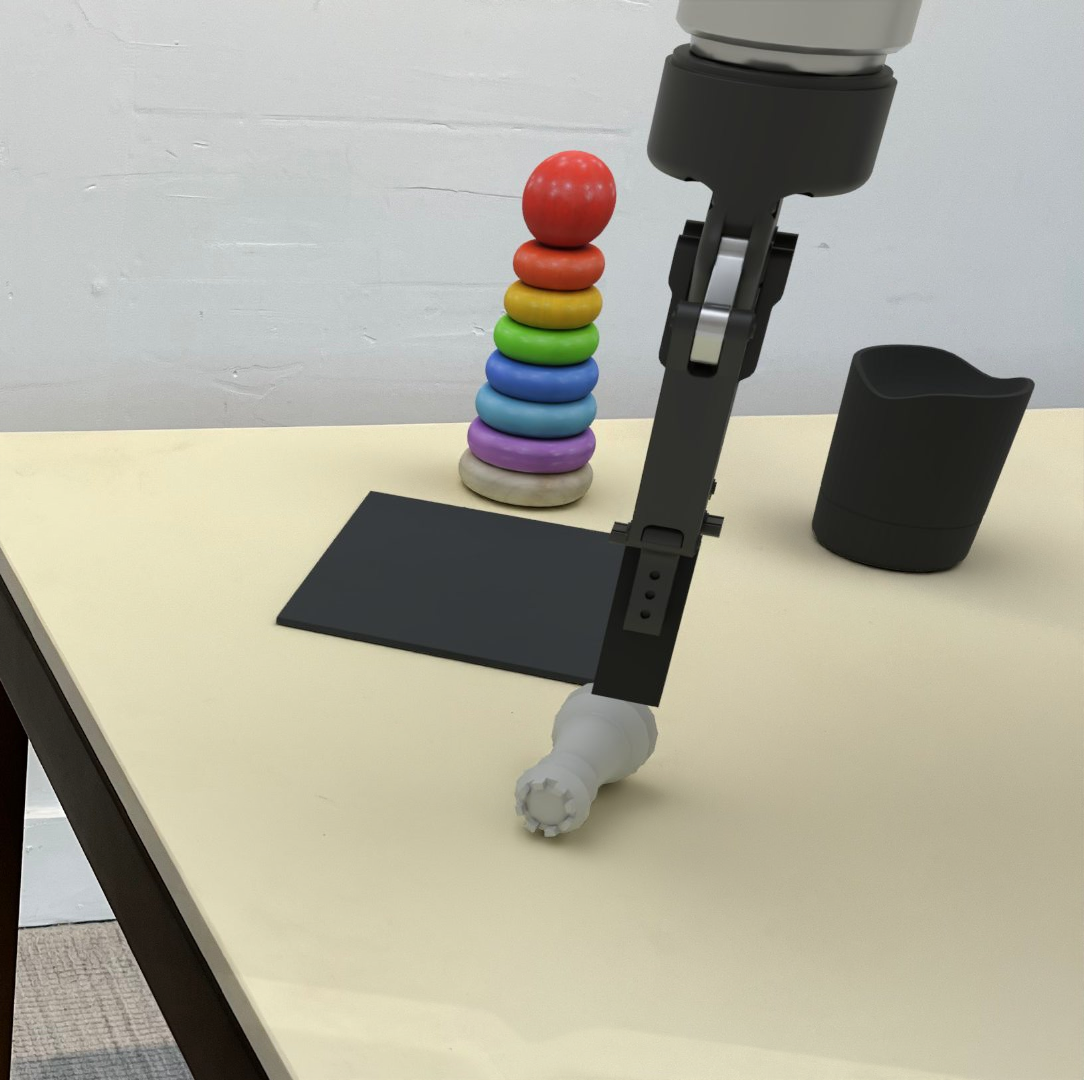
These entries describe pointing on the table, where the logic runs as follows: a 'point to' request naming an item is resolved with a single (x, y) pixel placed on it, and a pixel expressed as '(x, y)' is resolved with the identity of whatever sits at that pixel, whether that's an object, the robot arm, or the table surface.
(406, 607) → the felt mat
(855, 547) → the pen holder
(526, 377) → the stacking toy
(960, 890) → the table surface
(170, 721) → the table surface
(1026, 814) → the table surface
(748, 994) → the table surface
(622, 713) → the rook chess piece
